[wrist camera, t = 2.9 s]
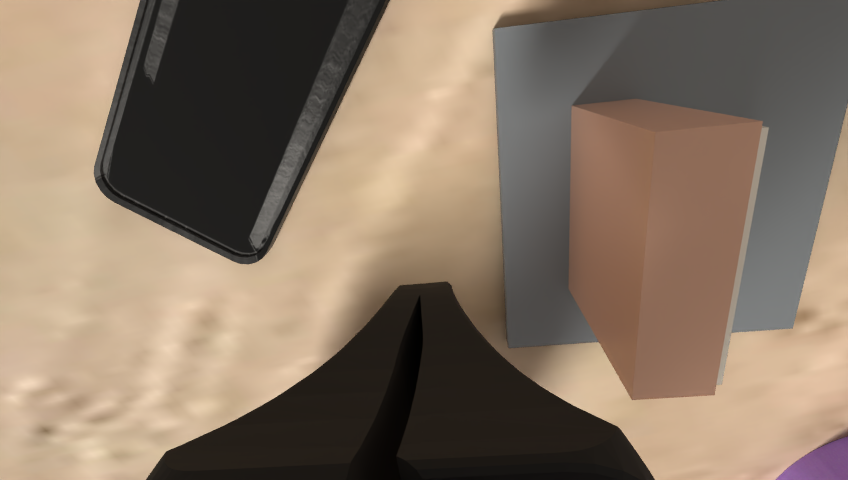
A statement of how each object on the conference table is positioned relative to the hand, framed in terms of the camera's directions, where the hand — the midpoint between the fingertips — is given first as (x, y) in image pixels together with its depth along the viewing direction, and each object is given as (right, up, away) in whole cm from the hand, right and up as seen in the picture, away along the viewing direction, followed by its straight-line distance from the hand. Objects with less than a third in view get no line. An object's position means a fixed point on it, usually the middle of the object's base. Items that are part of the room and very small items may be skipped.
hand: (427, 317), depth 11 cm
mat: (+10, +4, +7) cm, 13 cm away
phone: (-7, +9, +7) cm, 13 cm away
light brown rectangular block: (+7, +4, +7) cm, 11 cm away
